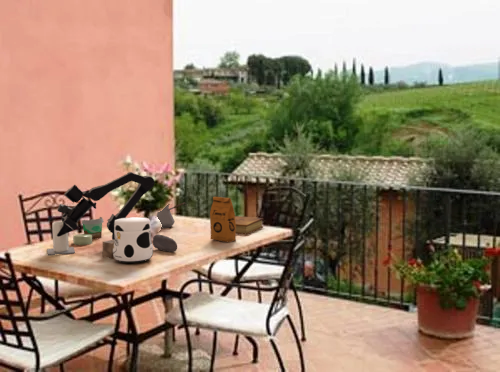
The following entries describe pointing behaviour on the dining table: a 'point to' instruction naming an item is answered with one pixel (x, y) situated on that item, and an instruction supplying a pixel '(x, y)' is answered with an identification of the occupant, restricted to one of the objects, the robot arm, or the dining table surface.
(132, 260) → the milk container
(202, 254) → the dining table surface
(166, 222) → the coffee pot
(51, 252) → the coaster
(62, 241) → the tumbler
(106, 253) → the walnut box
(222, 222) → the coffee package
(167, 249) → the grey oval stone
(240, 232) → the diary
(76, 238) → the sage green dome
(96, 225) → the food container
